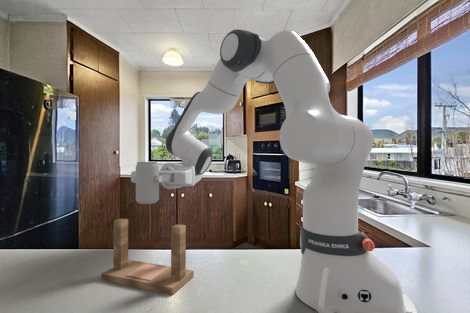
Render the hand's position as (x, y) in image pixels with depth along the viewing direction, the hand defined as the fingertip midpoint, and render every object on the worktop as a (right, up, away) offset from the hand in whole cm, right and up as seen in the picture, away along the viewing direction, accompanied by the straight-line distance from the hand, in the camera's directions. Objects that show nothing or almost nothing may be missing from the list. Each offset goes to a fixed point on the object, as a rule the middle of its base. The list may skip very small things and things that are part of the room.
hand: (145, 178), depth 74 cm
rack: (+5, -23, -12) cm, 26 cm away
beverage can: (0, -7, +1) cm, 7 cm away
